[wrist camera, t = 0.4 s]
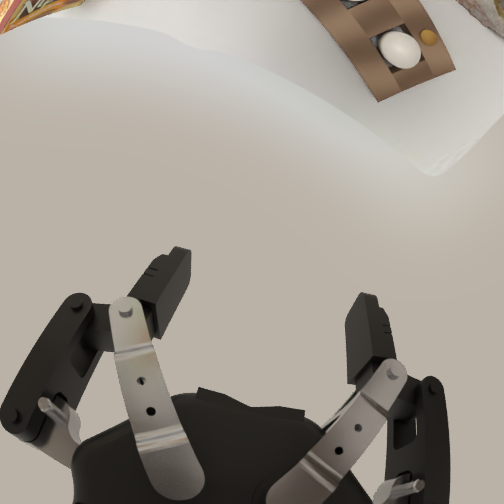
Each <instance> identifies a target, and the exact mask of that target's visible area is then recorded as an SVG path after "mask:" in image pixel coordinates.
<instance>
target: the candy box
mask: <svg viewBox="0 0 504 504" xmlns="http://www.w3.org/2000/svg"><path fill="white" fill-rule="evenodd" d="M83 1H84V0H2V1H1V3H0V35H1V34H3V33H5V32H7V31H9V30H11V29H14V28H16V27H18V26H20V25H23V24H25V23H28V22H30V21H32V20H35V19H38V18H40V17H43V16H46V15H49V14H52V13H55V12H58V11H61V10H64V9H68V8H71V7H75V6H79V5H80V4H81V3H82V2H83Z"/></svg>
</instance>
